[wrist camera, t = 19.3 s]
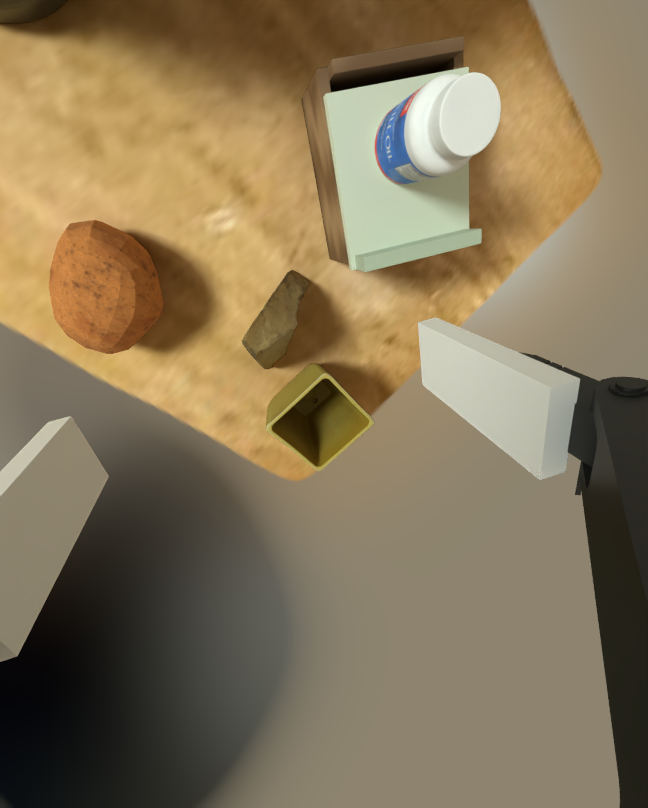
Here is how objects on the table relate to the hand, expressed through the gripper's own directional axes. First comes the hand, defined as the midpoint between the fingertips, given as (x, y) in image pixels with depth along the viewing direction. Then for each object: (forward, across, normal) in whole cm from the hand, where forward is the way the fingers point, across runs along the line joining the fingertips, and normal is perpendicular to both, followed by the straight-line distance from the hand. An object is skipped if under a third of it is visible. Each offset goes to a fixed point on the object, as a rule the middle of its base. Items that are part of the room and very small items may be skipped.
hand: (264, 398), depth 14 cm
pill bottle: (+21, +16, +9) cm, 28 cm away
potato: (+29, -12, +3) cm, 32 cm away
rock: (+29, +3, -4) cm, 29 cm away
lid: (+22, +16, +7) cm, 28 cm away
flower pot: (+29, +4, -14) cm, 32 cm away
